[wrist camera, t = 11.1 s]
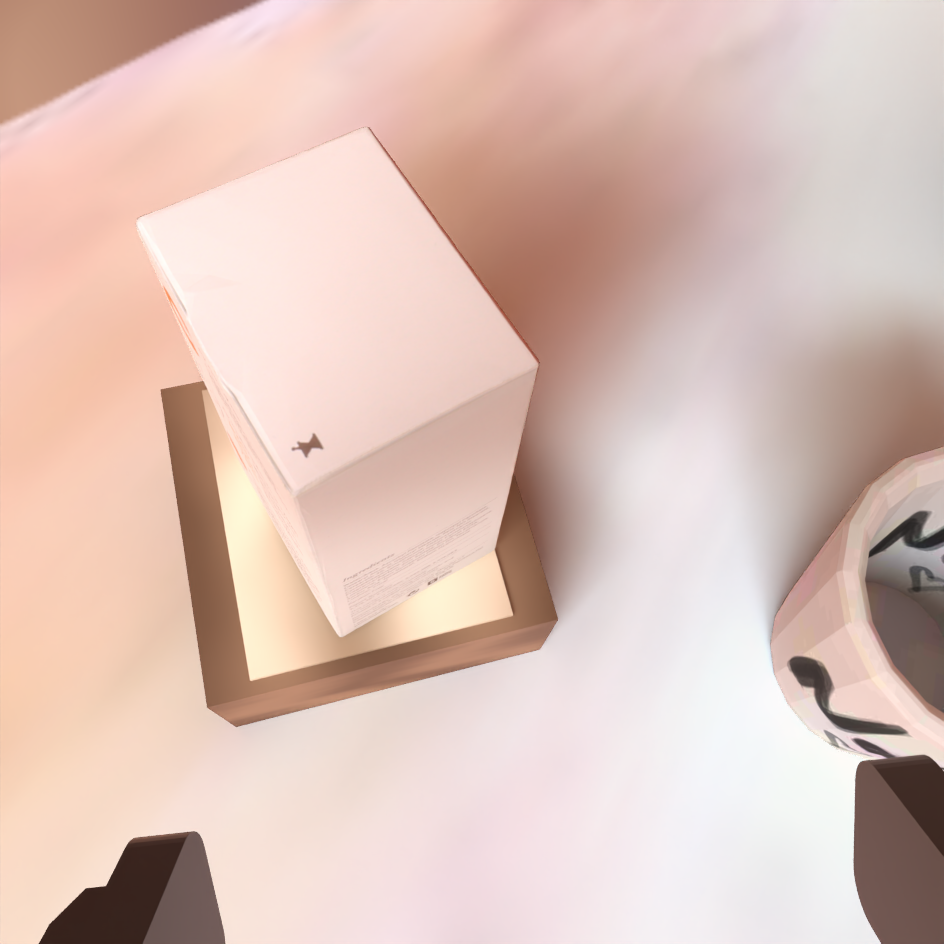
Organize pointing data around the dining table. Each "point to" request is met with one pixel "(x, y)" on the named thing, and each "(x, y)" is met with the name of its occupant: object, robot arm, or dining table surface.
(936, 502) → the mug
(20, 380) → the dining table surface
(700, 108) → the dining table surface
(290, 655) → the plinth
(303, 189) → the small box
